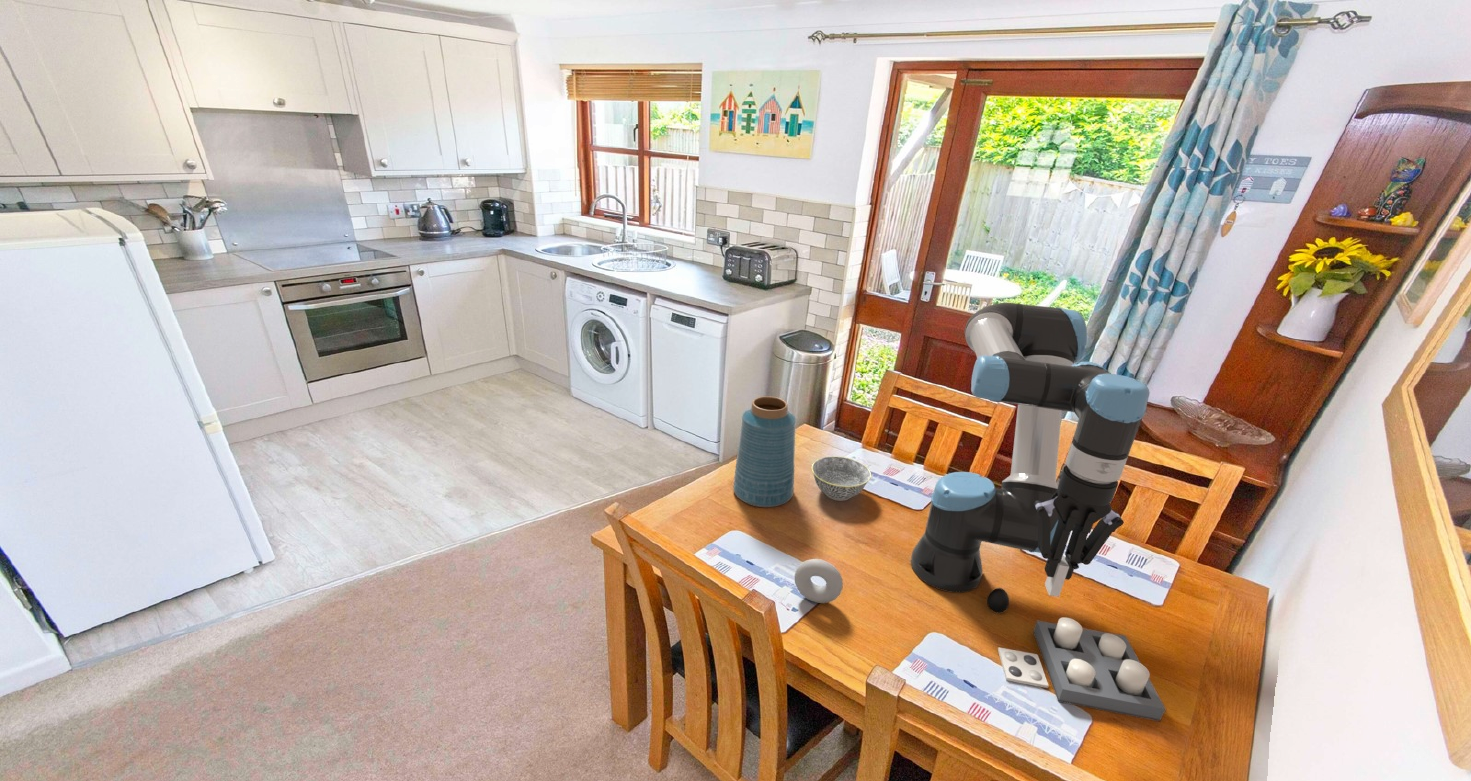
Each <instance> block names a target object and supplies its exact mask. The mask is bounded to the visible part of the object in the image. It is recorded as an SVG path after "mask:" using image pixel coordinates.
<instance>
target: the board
mask: <svg viewBox="0 0 1471 781" xmlns="http://www.w3.org/2000/svg"><path fill="white" fill-rule="evenodd" d="M1057 624H1058V623H1055V622H1054V623H1053V622H1048V621H1042V620H1036V622H1035V625H1034V629H1033V631H1032V632H1033V635H1034V638H1035V642H1036V644H1037V646H1038V650H1039V652H1040V655H1041V658H1042V660H1043V662H1044V666H1045V668H1046V671H1047V675H1048V677H1049V680H1050V683H1051V686H1052V689H1053V691H1054V694H1055V697H1056V699H1057V702H1059V703H1064V704H1069V705H1073V706H1074V705H1075V706H1079V707H1084V708H1089V709H1094V710H1101V711H1104V712H1105V711H1106V712H1110V713H1115V714H1120V715H1125V716H1130V717H1134V718H1136V717H1137V718H1140V719H1146V720H1151V721H1155V722H1161V719H1162V718H1163V715H1164V713H1165V711H1166V707H1165V705H1164V703H1163V701H1162V699H1161V698H1160V696H1159V694H1158V692H1157V690H1156V689H1155V686H1154V685H1153V683H1152V681H1151V679H1150V677H1149V678H1148V681H1147V683H1146V685H1145V687H1144V689H1143V692H1142V694H1141V695H1138V696H1134V695H1130V694H1128V693H1126V692H1124V691H1123V690H1121V689H1120V688H1119V687H1118V685H1117V684H1116V681H1115V679H1116V677H1117V674H1118V672H1119V670H1120V667H1121V665H1122V662H1123V661H1124V660H1126V659H1130V660H1134V661H1137V662H1139V663H1141V661H1140V660H1139V657H1138V655H1137V654H1136V653H1135V652H1136V651H1135V650H1134V649H1133V646H1132V645H1131V643H1130V641H1129V639H1128V638H1127V636H1126V635H1123V634H1118V633H1117V634H1116V633H1111V632H1108V633H1109V634H1113V635H1116V636H1118V637H1119V638H1121V639H1122V640H1123V641H1124V642H1125V644H1126V650H1125V652H1124V654H1123V657H1122V659H1115V658H1110V657H1104V656H1102V655H1101V653H1100V651H1099V649H1098V644H1099V641H1100V639H1101V636H1102V635H1103V634H1105V633H1107V632H1106V631H1098V630H1094V629H1089V628H1083V627H1082V629H1083V631H1082V634H1081V636H1080V639H1079V642H1078V644H1077V647H1076V649H1074V650H1067V649H1064V648H1062V647H1060V646H1059V645H1057V644H1056V643H1055V641H1054V639H1053V635H1054V633H1055V630H1056V627H1057ZM1072 659H1081V660H1083V661H1086V662H1087V663H1089V664H1090V665H1091V666H1092V667H1093V668H1094V670H1095V677H1094V679H1093V682H1092V684H1091V687H1085V686H1079V685H1074V684H1069V681H1068V679H1067V676H1066V671H1067V668H1068V666H1069V663H1070V661H1071V660H1072Z"/></svg>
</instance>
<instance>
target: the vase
mask: <svg viewBox="0 0 1471 781" xmlns="http://www.w3.org/2000/svg"><path fill="white" fill-rule="evenodd" d="M788 406H789V405H788V402H787V401H786V400H784V399H783V398H780V397H777V396H772V395H771V396H768V395H766V396H765V395H764V396H760V397H756V398H754V399H753V400H752V402H751V407H750V408H748V409H746V410H744V411H743V413H742V415H741V422H740V429H739V430H740V431H739V432H740V433H739V438H738V439H739V440H738V447H737V448H738V449H737V455H736V456H737V457H736V463H735V468H734V469H735V471H734V478H733V486H732V488H733V492H734V494H735V495H736V497H737V498H739V500H740V501H743V502H744V503H746V504H747V505H751V506H754V507H759V508H773V507H774V508H775V507H778V506H781V505H784V504H786V503H787V502H789V501H790V500H791V499H792V497H793V495H794V490H795V488H794V487H795V485H794V484H795V471H796V470H795V456H796V455H795V454H796V453H795V452H796V426H797V419H796V417H795V415H794V413H792V412H791V411H789V410H788V409H789V407H788Z"/></svg>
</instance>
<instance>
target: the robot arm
mask: <svg viewBox="0 0 1471 781" xmlns="http://www.w3.org/2000/svg"><path fill="white" fill-rule="evenodd" d="M964 337H965V341H966V344H967V346H968V347H969V348H970V350H972V351H973V352H974V353H975V355H976V360H975V363H974V365H973V370H972V375H971V382H970V383H971V386H970V387H971V388H970V391H971V394H972V395H973V396H974V397H975V398H978V399H983V400H988V401H991V402H996V403H997V402H999V403H1007V404H1013V405H1017V411H1016V419H1015V420H1016V422H1015V429H1014V437H1013V438H1014V440H1013V450H1012V457H1011V458H1012V459H1011V467H1010V475H1009V476H1007V477H1005V479H1003V480H1002V481H1001V487H1000V488H998V487H996V486H995V484H994V482H993V481H992V480H991V479H989V478H988V477H986V476H982V475H981V474H979V473H975V472H969V471H955V472H949V473H946V475H943V476H941V477H940V478H939V479H938V480H937V482H936V483H935V485H934V486H935V487H934V489H933V491H932V494H931V498H930V499H931V500H930V501H931V502H930V508H929V511H928V517H927V522H926V525H925V526H926V527H925V531H924V533H923V535H922V536H921V537H920V539H919V540H918V542H917V543H916V545H915V546H914V548H913V550H912V553H911V557H910V565H911V568H912V570H913V572H914V573H915V574H916V575H917V576H918V578H920V580H922V581H924V582H925V583H926V584H927V585H929V586H932V587H934V588H936V589H938V590H941V591H944V592H951V593H967V592H970V591H973V590H974V589H977V587H978V586H979V584H980V583H981V580H982V575H983V565H982V564H983V563H982V558H981V557H982V556H981V551H980V549H981V545H982V543H983V542H984V543H989V544H993V545H999V546H1003V547H1007V548H1013V549H1018V550H1023V551H1027V552H1030V553H1039V554H1041V557H1042V558H1043V559H1045V560H1046V563H1045V565H1044V573H1045V574H1046V580H1045V582H1044V586H1045V588H1046V591H1047V593H1048V595H1049V597H1055V598H1059V597H1060V595H1061V592H1062V590H1063V587H1064V583H1065V580H1066V581H1067V580H1068V581H1069V580H1070V579H1071V578H1072V577H1073V573H1074V571H1075V570H1078V569H1079V568H1080V565H1079V564H1083V565H1085V566H1088V565H1090V564H1091V563H1092V562H1093V560H1094V558H1095V557H1096V556H1097V554H1098V553H1099V552H1100V550H1101V549H1102V547H1103V546H1104V545H1105V543H1106V542H1107V540H1109V538H1110V536H1112V534H1113V532H1114V531H1116V530H1117V529H1118V528H1120V527H1121V526H1123V525H1124V524H1125V523H1124V520H1123V519H1122V517H1121V516H1120V514H1119V513H1118V512H1117V511H1116V510H1112V505H1111V503H1112V501H1114V497H1115V494H1116V492H1117V489H1118V486H1119V482H1118V481H1119V480H1120V479H1121V477H1122V474H1123V471H1124V469H1125V467H1126V463H1127V460H1128V459H1129V458H1128V457H1129V454H1130V452H1131V449H1132V447H1133V445H1134V442H1135V439H1136V436H1137V434H1138V431H1139V428H1140V426H1141V422H1142V421H1143V418H1144V416H1145V414H1146V412H1147V405H1148V401H1149V397H1150V393H1151V392H1150V388H1149V387H1148V386H1147V385H1146V384H1145V383H1144V382H1142V381H1139V380H1137V379H1135V378H1133V377H1130V376H1126V375H1122V374H1118V373H1117V374H1116V373H1112V372H1110V371H1108V369H1106V368H1105V367H1103V366H1102V365H1101V364H1098V363H1096V362H1093V361H1081V360H1082V359H1083V357H1084V355H1085V353H1086V352H1085V351H1086V346H1087V341H1088V329H1087V324H1086V321H1085V319H1084V317H1083V315H1082V314H1081V313H1080V312H1079V311H1077V310H1075V309H1067V308H1063V307H1059V306H1057V307H1052V306H1041V305H1032V304H1024V303H1023V304H1020V303H1016V302H1000V303H994V304H992V305H987V306H985V307H983V308H981V309H979V310H977V311H976V312H974V313H973V314H972V315H971V316H970V317H969V319H968V320H967V322H966V325H965V328H964ZM1080 361H1081V362H1080ZM1063 412H1070V413H1075V415H1076V416H1077V418H1078V421H1077V424H1076V427H1075V431H1074V435H1073V437H1072V441H1071V443H1070V447H1069V449H1068V453H1067V456H1066V459H1065V461H1064V462H1065V466H1064V467H1063V469H1062V473H1061V475H1060V479H1059V482H1058V483H1057V481H1056V480H1057V470H1058V469H1057V468H1058V456H1059V446H1060V437H1061V436H1060V434H1061V423H1062V414H1063ZM1095 523H1097V524H1096V525H1095V526H1094V524H1095ZM1093 526H1094V528H1093ZM1088 534H1089V535H1088ZM1064 555H1065V556H1064Z"/></svg>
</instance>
